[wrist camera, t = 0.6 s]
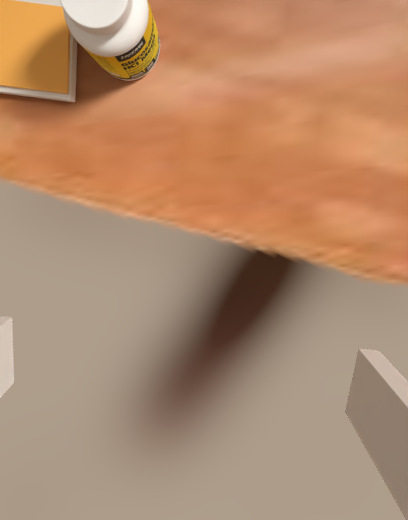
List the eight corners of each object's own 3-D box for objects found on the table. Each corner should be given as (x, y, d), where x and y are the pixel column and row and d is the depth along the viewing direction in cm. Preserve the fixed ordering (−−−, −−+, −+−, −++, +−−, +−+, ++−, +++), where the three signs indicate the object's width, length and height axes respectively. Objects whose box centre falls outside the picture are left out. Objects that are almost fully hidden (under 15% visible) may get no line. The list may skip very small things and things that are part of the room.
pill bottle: (140, 95, 35) (111, 61, 24) (83, 58, 34) (27, 6, 24) (173, 33, 34) (158, -31, 23) (115, -6, 33) (70, -92, 22)
